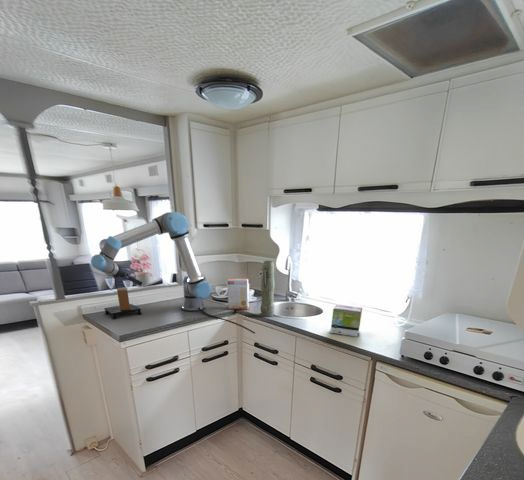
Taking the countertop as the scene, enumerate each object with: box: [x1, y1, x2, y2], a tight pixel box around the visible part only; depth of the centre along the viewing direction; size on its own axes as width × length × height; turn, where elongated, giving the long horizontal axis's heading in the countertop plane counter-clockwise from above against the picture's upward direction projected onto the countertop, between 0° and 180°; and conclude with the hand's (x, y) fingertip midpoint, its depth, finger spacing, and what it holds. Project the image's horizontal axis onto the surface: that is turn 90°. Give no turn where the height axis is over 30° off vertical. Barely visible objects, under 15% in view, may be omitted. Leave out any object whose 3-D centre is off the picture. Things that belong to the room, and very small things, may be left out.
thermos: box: [260, 260, 276, 318], centre depth 211 cm, size 9×12×35 cm
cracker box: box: [227, 278, 250, 311], centre depth 228 cm, size 14×6×21 cm, turn 84°
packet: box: [116, 286, 130, 310], centre depth 210 cm, size 8×6×13 cm
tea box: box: [330, 304, 363, 337], centre depth 183 cm, size 15×10×15 cm, turn 69°
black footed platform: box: [103, 303, 142, 320], centre depth 214 cm, size 16×18×4 cm
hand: (132, 279), depth 208 cm, fingers open, 13 cm apart
